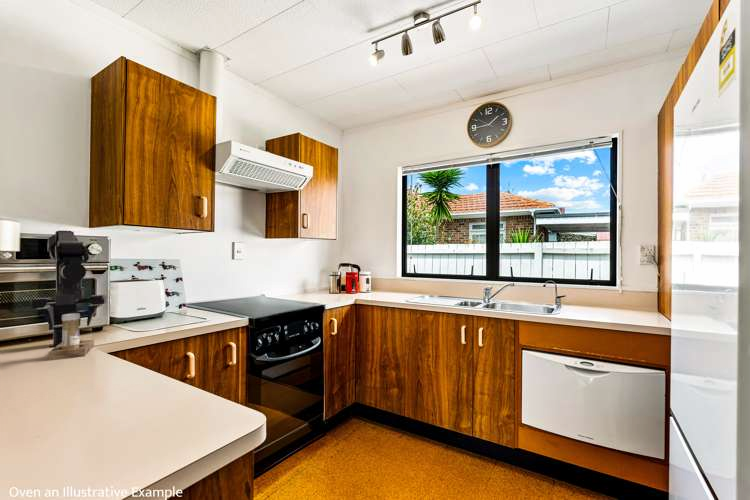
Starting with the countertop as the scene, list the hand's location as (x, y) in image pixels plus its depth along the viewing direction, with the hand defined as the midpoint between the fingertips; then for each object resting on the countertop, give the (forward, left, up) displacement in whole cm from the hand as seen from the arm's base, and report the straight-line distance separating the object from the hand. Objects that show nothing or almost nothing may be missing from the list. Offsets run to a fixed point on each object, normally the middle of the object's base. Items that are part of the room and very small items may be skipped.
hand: (70, 327), depth 119 cm
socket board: (-3, 0, -9) cm, 10 cm away
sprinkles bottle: (0, 0, -9) cm, 9 cm away
